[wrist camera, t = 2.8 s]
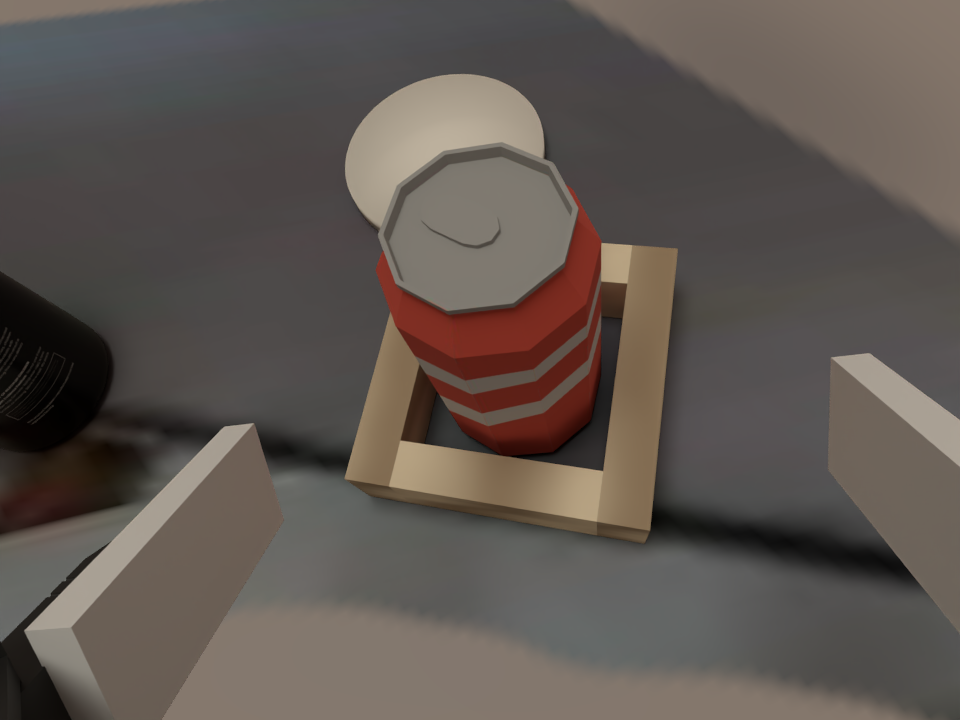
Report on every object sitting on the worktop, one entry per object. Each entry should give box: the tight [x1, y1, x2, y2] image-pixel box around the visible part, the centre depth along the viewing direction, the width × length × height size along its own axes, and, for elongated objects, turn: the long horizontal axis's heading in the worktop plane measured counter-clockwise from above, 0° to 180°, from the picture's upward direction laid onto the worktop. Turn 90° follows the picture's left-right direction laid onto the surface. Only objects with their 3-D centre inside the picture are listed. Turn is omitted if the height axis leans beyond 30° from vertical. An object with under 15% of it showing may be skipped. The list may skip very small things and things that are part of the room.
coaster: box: [345, 74, 545, 231], centre depth 33 cm, size 10×10×1 cm
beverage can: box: [376, 142, 601, 456], centre depth 22 cm, size 6×6×12 cm
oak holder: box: [345, 243, 678, 544], centre depth 26 cm, size 11×11×3 cm
